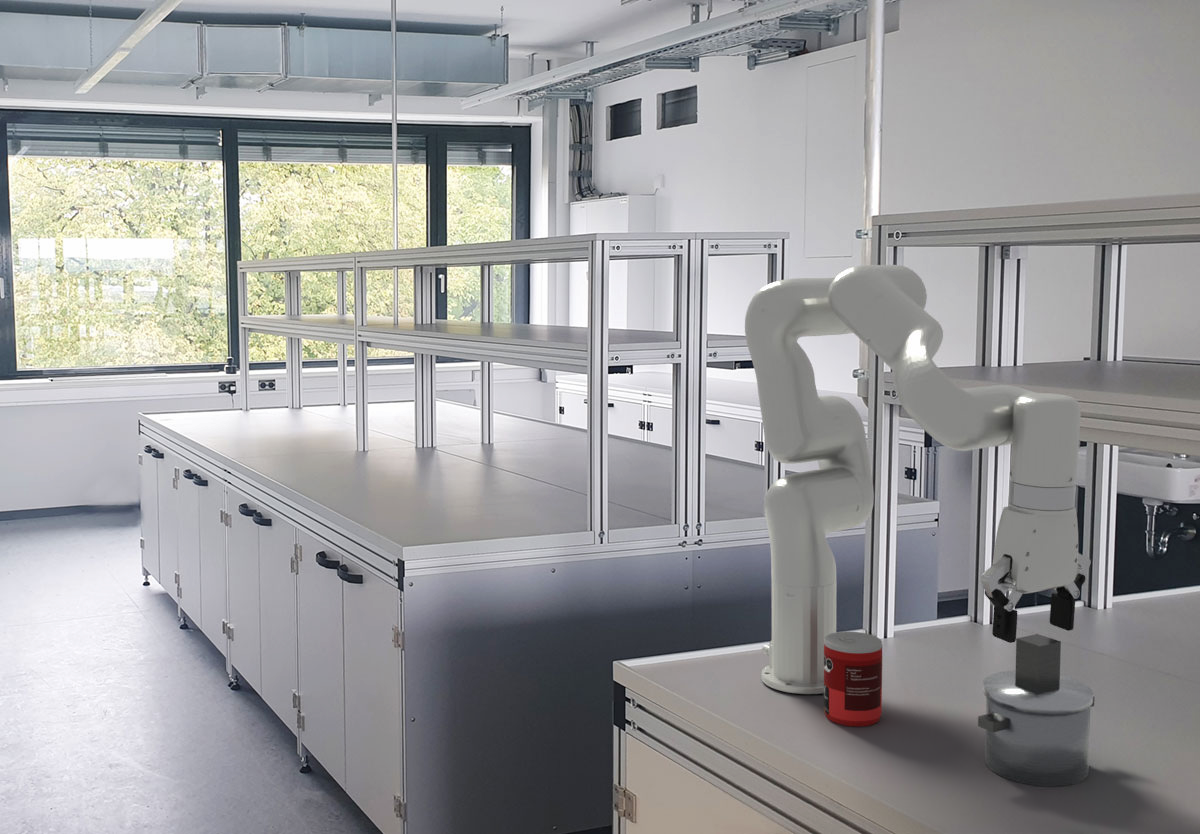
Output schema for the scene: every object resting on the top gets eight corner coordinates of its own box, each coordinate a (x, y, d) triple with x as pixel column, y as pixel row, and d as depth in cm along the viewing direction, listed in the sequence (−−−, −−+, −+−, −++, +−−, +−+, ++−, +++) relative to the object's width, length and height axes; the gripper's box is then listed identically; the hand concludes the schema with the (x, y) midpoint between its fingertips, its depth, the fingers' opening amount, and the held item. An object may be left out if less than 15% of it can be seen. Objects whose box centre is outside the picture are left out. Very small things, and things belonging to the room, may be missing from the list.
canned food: (839, 702, 169) (840, 627, 168) (891, 715, 164) (892, 638, 163) (813, 718, 163) (813, 641, 162) (866, 732, 158) (866, 652, 157)
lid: (961, 689, 148) (962, 634, 147) (1033, 671, 154) (1034, 619, 153) (1040, 721, 137) (1042, 663, 136) (1115, 701, 143) (1117, 645, 142)
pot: (948, 762, 148) (949, 693, 147) (1047, 735, 156) (1049, 669, 155) (1022, 799, 137) (1024, 724, 136) (1125, 768, 145) (1127, 697, 144)
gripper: (1067, 484, 150) (1058, 614, 152) (964, 497, 142) (957, 634, 145) (1117, 495, 143) (1107, 631, 146) (1012, 510, 135) (1004, 654, 138)
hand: (1032, 633), depth 145 cm, fingers open, 9 cm apart
